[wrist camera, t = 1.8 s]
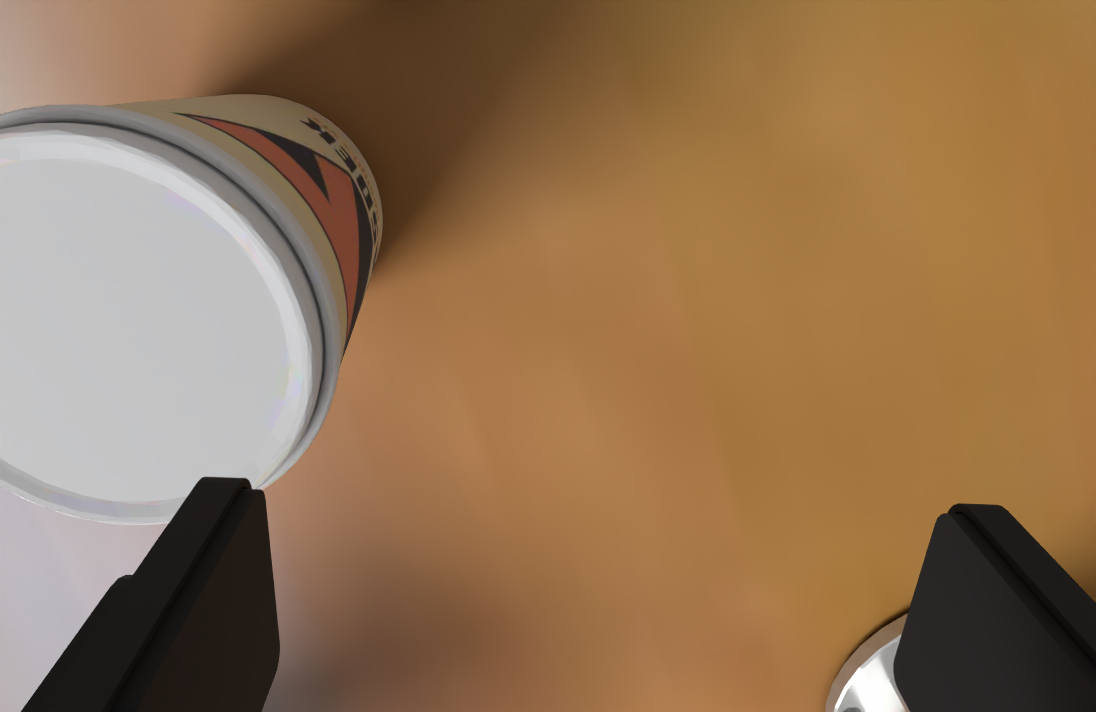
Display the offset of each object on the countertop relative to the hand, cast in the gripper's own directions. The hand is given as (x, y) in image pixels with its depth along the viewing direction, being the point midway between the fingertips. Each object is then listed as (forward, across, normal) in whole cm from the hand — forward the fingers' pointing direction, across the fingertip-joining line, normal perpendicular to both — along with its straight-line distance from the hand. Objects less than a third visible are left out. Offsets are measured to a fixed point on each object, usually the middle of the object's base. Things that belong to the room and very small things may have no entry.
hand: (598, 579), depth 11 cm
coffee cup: (+19, +10, 0) cm, 21 cm away
